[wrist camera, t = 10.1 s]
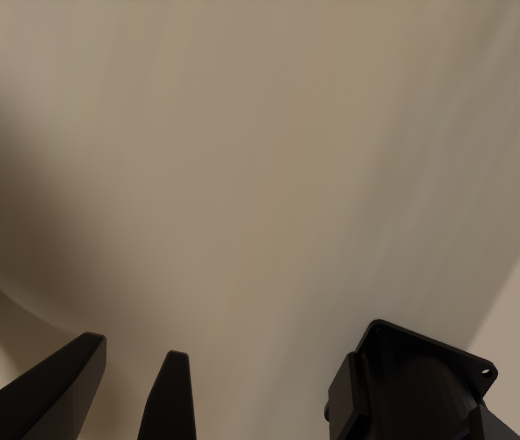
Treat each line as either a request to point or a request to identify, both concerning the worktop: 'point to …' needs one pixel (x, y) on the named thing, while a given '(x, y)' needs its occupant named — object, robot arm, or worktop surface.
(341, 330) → the worktop surface
